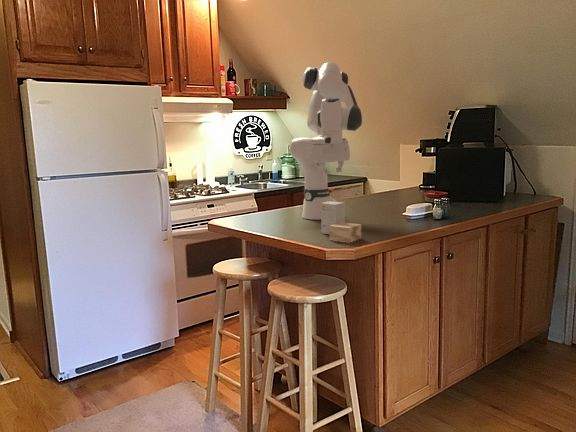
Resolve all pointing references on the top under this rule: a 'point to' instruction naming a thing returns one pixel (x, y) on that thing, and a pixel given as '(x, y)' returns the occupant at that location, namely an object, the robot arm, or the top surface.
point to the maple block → (345, 232)
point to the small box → (331, 215)
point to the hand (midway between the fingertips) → (331, 173)
